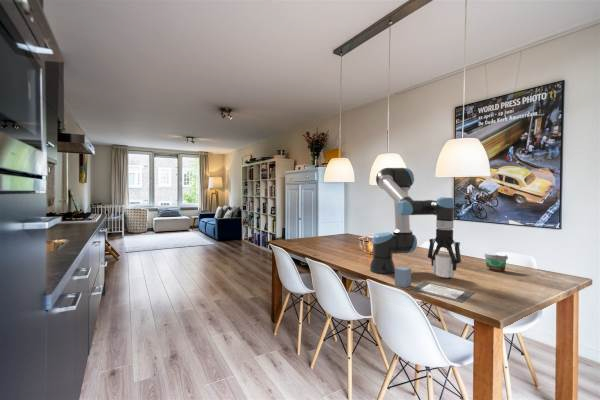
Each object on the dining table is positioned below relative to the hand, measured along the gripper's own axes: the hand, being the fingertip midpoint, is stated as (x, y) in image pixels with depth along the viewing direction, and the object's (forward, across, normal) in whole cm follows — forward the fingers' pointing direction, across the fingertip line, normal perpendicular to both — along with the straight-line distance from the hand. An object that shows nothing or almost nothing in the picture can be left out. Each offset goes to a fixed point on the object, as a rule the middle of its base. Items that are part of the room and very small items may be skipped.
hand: (443, 274), depth 144 cm
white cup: (+1, 0, 0) cm, 1 cm away
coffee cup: (+9, -7, +25) cm, 27 cm away
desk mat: (+8, 0, 0) cm, 8 cm away
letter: (+8, 0, 0) cm, 8 cm away
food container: (+9, +10, +61) cm, 62 cm away
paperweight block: (+9, -18, -5) cm, 21 cm away
